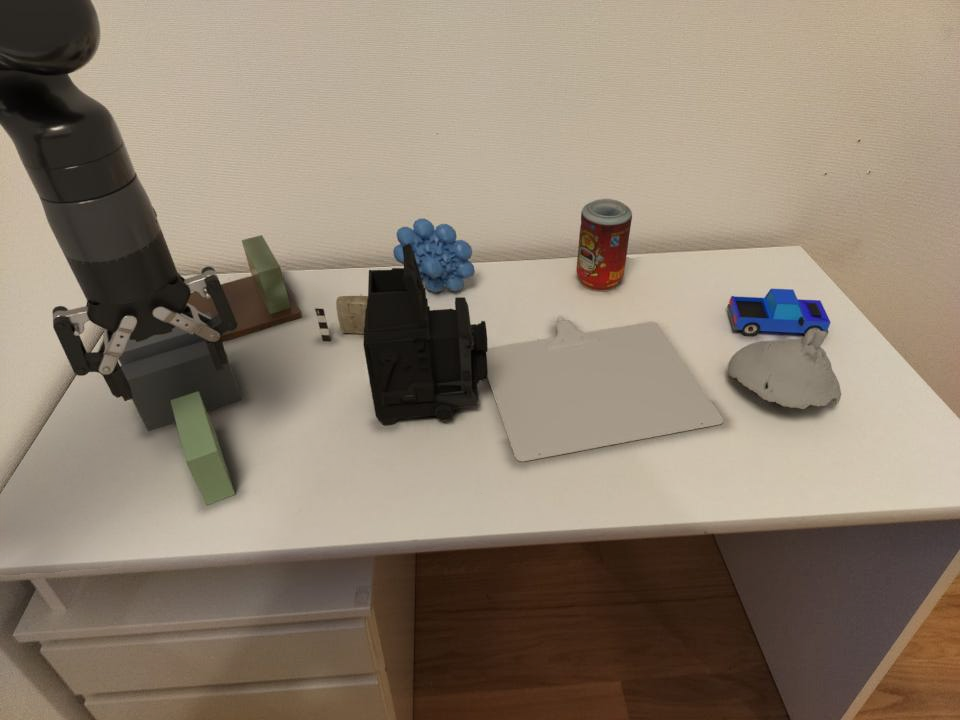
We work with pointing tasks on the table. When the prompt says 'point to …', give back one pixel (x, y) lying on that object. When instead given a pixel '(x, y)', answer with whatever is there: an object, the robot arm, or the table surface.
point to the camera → (419, 348)
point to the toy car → (777, 313)
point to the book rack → (254, 294)
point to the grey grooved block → (174, 375)
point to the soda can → (603, 244)
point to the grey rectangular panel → (594, 390)
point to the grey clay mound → (788, 371)
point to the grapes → (436, 254)
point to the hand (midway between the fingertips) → (174, 380)
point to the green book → (202, 448)
